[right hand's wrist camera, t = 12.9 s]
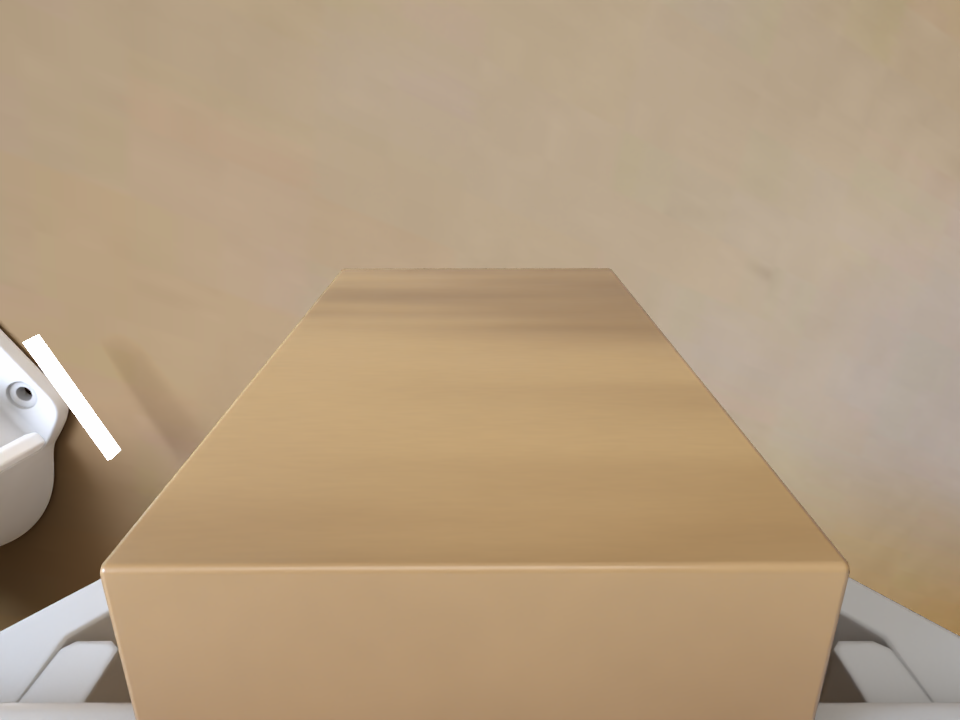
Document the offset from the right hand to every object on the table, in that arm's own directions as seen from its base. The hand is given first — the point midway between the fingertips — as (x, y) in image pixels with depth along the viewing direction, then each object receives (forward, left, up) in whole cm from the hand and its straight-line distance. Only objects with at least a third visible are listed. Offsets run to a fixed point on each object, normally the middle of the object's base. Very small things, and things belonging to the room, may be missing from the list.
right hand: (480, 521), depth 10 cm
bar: (+9, -4, -3) cm, 11 cm away
